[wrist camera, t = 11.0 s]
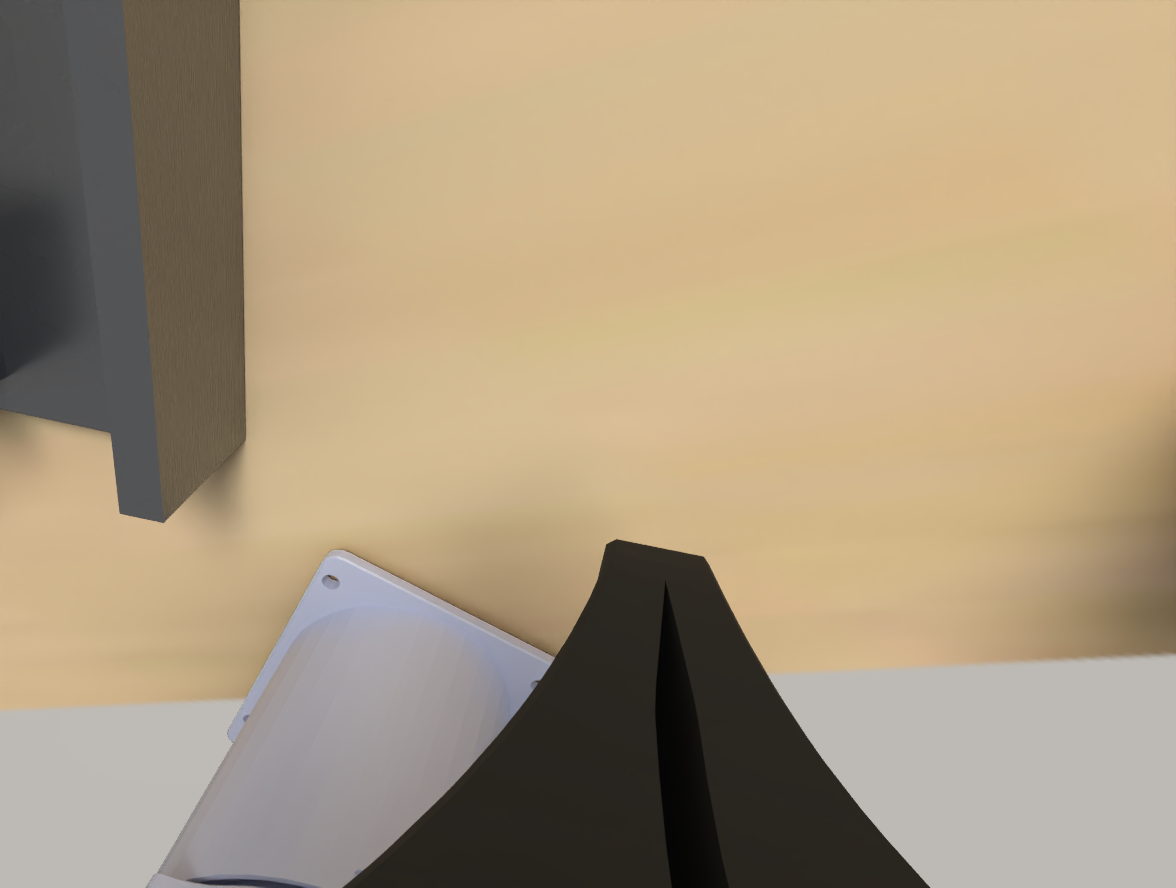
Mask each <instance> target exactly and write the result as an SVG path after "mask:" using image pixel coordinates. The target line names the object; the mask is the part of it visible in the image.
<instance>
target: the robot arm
mask: <svg viewBox="0 0 1176 888" xmlns="http://www.w3.org/2000/svg"><path fill="white" fill-rule="evenodd" d="M328 575H332V576H335V577H336V578H337V579H338V580H339V581H335V580H332V579H331V578H330V577H328ZM536 680H540V681H539V683H538V682H536ZM227 734H228V737H229V739H230V740H231V741H232V742H233V744H232V746H231V748H230V750H229V751H228V753H227V755H226V757H225V758H224V760H223V761H222V763H221V765H220V767H219V768H218V770H217V772H216V774H215V775H214V777H213V779H212V780H211V782H210V784H209V785H208V787H207V789H206V790H205V792H204V794H203V796H202V797H201V799H200V801H199V803H198V804H197V806H196V808H195V809H194V811H193V813H192V814H191V816H190V818H189V819H188V821H187V823H186V825H185V826H184V828H183V830H182V831H181V833H180V835H179V837H178V838H177V840H176V842H175V844H174V845H173V847H172V848H171V850H170V852H169V854H168V856H167V857H166V859H165V860H164V862H163V864H162V865H161V867H160V869H159V871H158V873H157V874H155V875H153V877H152V878H151V880H150V882H149V883H148V885H147V886H146V888H930V887H929V886H928V885H927V884H926V883H925V882H924V880H923V879H922V878H921V877H920V876H919V875H918V874H917V873H916V871H915V870H914V869H913V868H912V867H911V866H910V865H909V864H908V863H907V862H906V860H905V859H904V858H903V857H902V856H901V855H900V854H899V853H898V851H897V850H896V849H895V848H894V847H893V846H892V845H891V844H890V843H889V842H888V840H887V839H886V838H885V837H884V836H883V835H882V833H881V832H880V831H879V830H878V829H877V827H876V826H875V825H874V824H873V823H872V821H871V820H870V819H869V818H868V817H867V816H866V815H865V813H864V812H863V811H862V810H861V808H860V807H859V806H858V804H857V803H856V802H855V801H854V800H853V798H852V797H851V796H850V794H849V793H848V792H847V790H846V789H845V788H844V787H843V785H842V784H841V783H840V781H839V780H838V779H837V778H836V776H835V775H834V774H833V772H832V771H831V770H830V768H829V767H828V766H827V765H826V763H825V762H824V761H823V759H822V758H821V756H820V755H819V754H818V752H817V751H816V749H815V748H814V746H813V745H812V744H811V742H810V741H809V740H808V738H807V736H806V735H805V733H804V732H803V731H802V729H801V727H800V726H799V724H798V723H797V721H796V720H795V718H794V717H793V715H792V714H791V712H790V711H789V709H788V708H787V706H786V705H785V703H784V701H783V700H782V698H781V696H780V695H779V693H778V692H777V690H776V688H775V687H774V685H773V684H772V682H771V680H770V678H769V677H768V675H767V673H766V672H765V670H764V668H763V666H762V665H761V663H760V661H759V659H758V658H757V656H756V654H755V653H754V651H753V649H752V647H751V646H750V644H749V642H748V640H747V638H746V637H745V635H744V633H743V631H742V629H741V627H740V625H739V624H738V622H737V620H736V618H735V616H734V614H733V612H732V610H731V608H730V606H729V604H728V602H727V600H726V598H725V596H724V594H723V592H722V590H721V588H720V586H719V584H718V582H717V580H716V578H715V576H714V574H713V572H712V570H711V568H710V566H709V564H708V562H707V561H706V559H705V558H704V557H703V556H697V555H692V554H687V553H682V552H677V551H672V550H667V549H662V548H657V547H652V546H647V545H642V544H637V543H632V542H627V541H622V540H617V539H616V540H614V541H612V542H610V543H608V544H606V548H605V552H604V556H603V560H602V564H601V568H600V572H599V576H598V580H597V583H596V585H595V587H594V589H593V592H592V594H591V596H590V598H589V600H588V602H587V604H586V606H585V608H584V610H583V612H582V613H581V615H580V617H579V619H578V621H577V623H576V625H575V626H574V628H573V630H572V632H571V634H570V635H569V637H568V639H567V640H566V642H565V644H564V645H563V647H562V648H561V650H560V651H559V653H558V654H557V656H556V657H553V656H551V655H549V654H547V653H545V652H543V651H541V650H539V649H537V648H535V647H533V646H531V645H529V644H527V643H525V642H523V641H522V640H520V639H518V638H516V637H514V636H512V635H510V634H508V633H506V632H504V631H502V630H500V629H498V628H496V627H494V626H492V625H490V624H488V623H486V622H484V621H482V620H480V619H478V618H477V617H475V616H473V615H471V614H469V613H467V612H465V611H463V610H461V609H459V608H457V607H455V606H453V605H451V604H449V603H447V602H445V601H443V600H441V599H439V598H437V597H435V596H433V595H431V594H430V593H428V592H426V591H424V590H422V589H420V588H418V587H416V586H414V585H412V584H410V583H408V582H406V581H404V580H402V579H400V578H398V577H396V576H394V575H392V574H390V573H388V572H386V571H385V570H383V569H381V568H379V567H377V566H375V565H373V564H371V563H369V562H367V561H365V560H363V559H361V558H359V557H357V556H355V555H353V554H351V553H349V552H347V551H344V550H333V551H330V552H329V553H328V554H327V555H326V556H325V558H324V559H323V561H322V563H321V564H320V566H319V568H318V570H317V572H316V573H315V575H314V577H313V579H312V581H311V582H310V584H309V586H308V588H307V590H306V591H305V593H304V595H303V597H302V598H301V600H300V602H299V604H298V606H297V607H296V609H295V611H294V613H293V615H292V616H291V618H290V620H289V622H288V624H287V625H286V627H285V629H284V631H283V633H282V634H281V636H280V638H279V640H278V641H277V643H276V645H275V647H274V649H273V650H272V652H271V654H270V656H269V658H268V659H267V661H266V663H265V665H264V667H263V668H262V670H261V672H260V674H259V676H258V677H257V679H256V681H255V683H254V684H253V686H252V688H251V690H250V692H249V693H248V695H247V697H246V699H245V701H244V702H243V704H242V706H241V708H240V710H239V711H238V713H237V715H236V717H235V719H234V720H233V722H232V724H231V726H230V728H229V729H228V733H227Z"/></svg>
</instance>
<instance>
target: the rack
mask: <svg viewBox="0 0 1176 888" xmlns="http://www.w3.org/2000/svg"><path fill="white" fill-rule="evenodd" d="M0 409H2V410H7V411H11V412H16V413H21V414H25V415H30V416H35V417H39V418H44V419H49V420H53V421H58V422H63V423H68V424H72V425H77V426H82V427H86V428H91V429H96V430H100V431H105V432H110V433H111V440H112V449H113V458H114V466H115V475H116V484H117V493H118V502H119V511H120V514H124V515H129V516H133V517H138V518H143V519H148V520H152V521H157V522H162V523H164V522H165V521H166V520H167V519H168V518H169V517H170V516H171V515H172V514H173V513H174V512H175V511H176V510H177V509H178V508H179V507H180V506H181V505H182V504H183V503H184V502H185V501H186V500H187V499H188V498H189V497H190V495H191V494H192V493H193V492H194V491H195V490H196V489H197V488H198V487H199V486H200V485H201V484H202V483H203V482H204V481H205V480H206V479H207V478H208V477H209V476H210V475H211V474H212V473H213V472H214V471H215V470H216V469H217V468H218V467H219V466H220V465H221V464H222V463H223V462H224V461H225V460H226V459H227V458H228V457H229V456H230V455H231V454H232V453H233V452H234V451H235V450H236V449H237V448H238V447H239V446H240V445H241V444H242V442H243V441H244V440H245V383H244V317H243V252H242V186H241V121H240V55H239V0H0Z"/></svg>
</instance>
